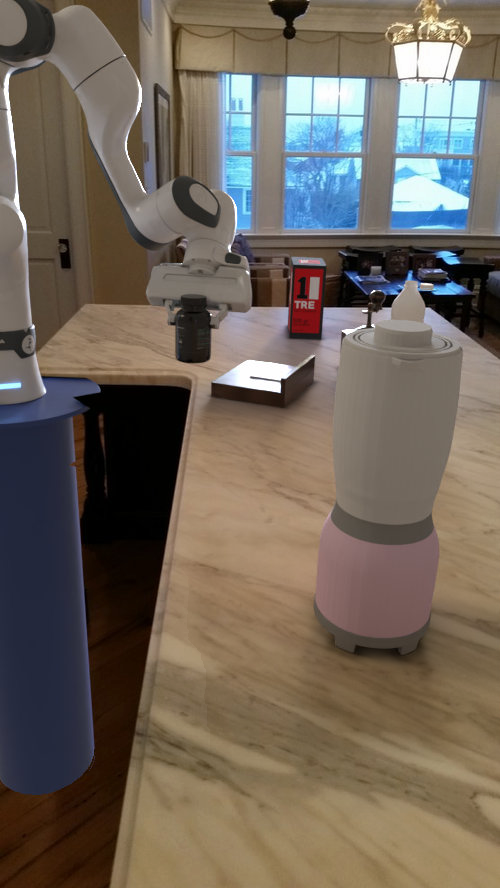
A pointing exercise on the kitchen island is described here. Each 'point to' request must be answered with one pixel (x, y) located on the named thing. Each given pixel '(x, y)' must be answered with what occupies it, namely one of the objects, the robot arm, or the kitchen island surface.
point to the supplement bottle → (193, 330)
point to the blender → (386, 484)
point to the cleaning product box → (306, 297)
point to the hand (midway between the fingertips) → (192, 325)
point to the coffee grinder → (369, 311)
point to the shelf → (265, 382)
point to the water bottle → (410, 303)
